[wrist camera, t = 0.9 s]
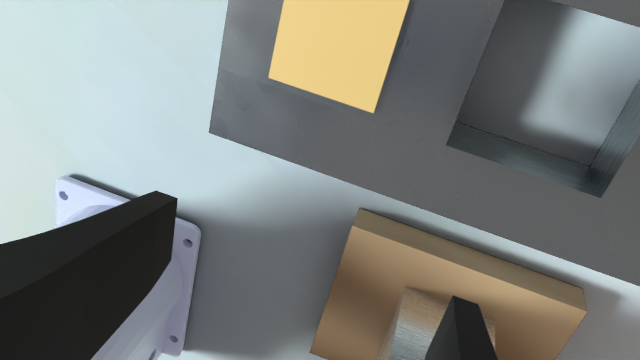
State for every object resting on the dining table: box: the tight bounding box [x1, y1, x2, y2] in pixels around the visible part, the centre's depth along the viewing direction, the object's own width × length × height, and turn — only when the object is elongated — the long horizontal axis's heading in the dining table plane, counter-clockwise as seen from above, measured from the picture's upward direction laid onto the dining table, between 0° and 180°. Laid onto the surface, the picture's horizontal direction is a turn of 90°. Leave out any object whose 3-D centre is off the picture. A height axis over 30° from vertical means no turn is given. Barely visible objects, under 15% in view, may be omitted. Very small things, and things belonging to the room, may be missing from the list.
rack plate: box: [209, 0, 640, 286], centre depth 19 cm, size 11×17×3 cm, turn 76°
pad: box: [310, 208, 588, 360], centre depth 25 cm, size 8×10×2 cm
